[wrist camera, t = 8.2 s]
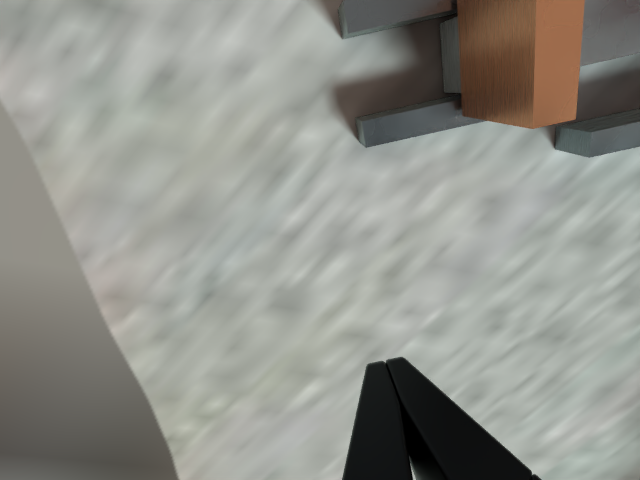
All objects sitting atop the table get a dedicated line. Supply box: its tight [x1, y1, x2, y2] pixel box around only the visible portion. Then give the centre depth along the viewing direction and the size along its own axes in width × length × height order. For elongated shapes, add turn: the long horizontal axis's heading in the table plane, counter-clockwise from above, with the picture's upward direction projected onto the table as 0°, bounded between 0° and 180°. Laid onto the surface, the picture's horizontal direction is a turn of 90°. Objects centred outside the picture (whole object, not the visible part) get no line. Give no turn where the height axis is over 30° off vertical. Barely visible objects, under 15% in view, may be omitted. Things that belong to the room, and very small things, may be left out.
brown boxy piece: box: [440, 0, 640, 129], centre depth 14 cm, size 10×5×7 cm, turn 102°
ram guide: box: [338, 0, 486, 148], centre depth 17 cm, size 8×6×2 cm
